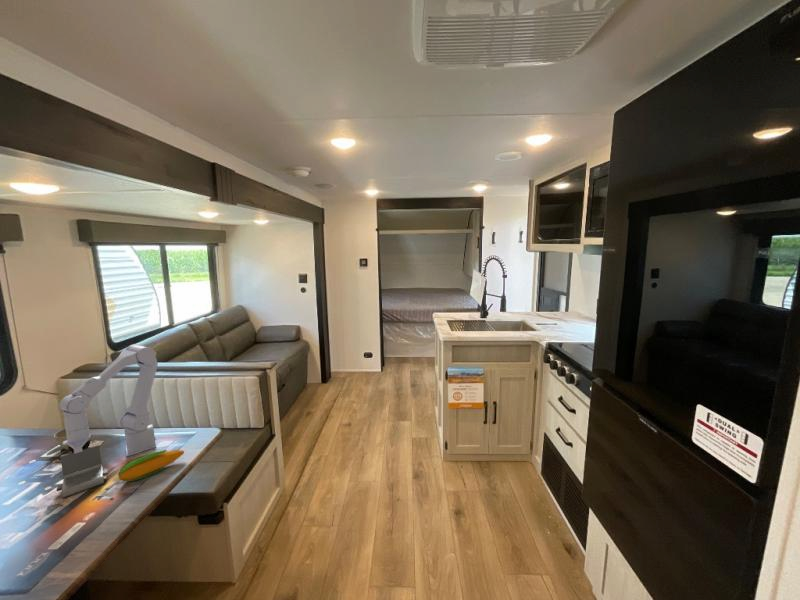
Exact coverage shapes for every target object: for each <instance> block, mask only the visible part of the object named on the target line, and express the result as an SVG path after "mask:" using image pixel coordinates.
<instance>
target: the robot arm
mask: <svg viewBox="0 0 800 600" xmlns="http://www.w3.org/2000/svg"><path fill="white" fill-rule="evenodd" d="M133 365H137V366H138V367H139V368H140V369H139V372H138V377H137V379H136V380H137V381H136V384H135V386H134V387H135V388H134V391H133V395H132V399H131V403H130V405H129V406H128V407H127V408H125V411H124V414H123V415H122V416H121V417H120V419H119V424H120V426H121V427H123V428H124V435H125V436H124V437H125V438H124V439H125V444H126V446H125V453H126V457H131V456H133V455H136V454H139V453H144V452H146V451H149V450H151V449H155V448H156V441H157V439H156V435H155V429H154V425H153V424H152V423H151V424H150V422H151V418H150V413H151V412H150V410H149V408H148V404H149V399H150V396H151V391H152V389H153V384H154V381H155V376H156V372H157V368H158V359H157V351H156V350H155V349H154V348H152V347H150V346H143V345H139V344H131V345H130V344H129V346H127V347H126V348H125V349H124V350H122V351H121V352H120V354H119V355H118V357H116V359H114V360H113V361H112V362H111V363H110V364H109V365H108V366H107V367H106V368H105V369H104V370H103V371H102V372H100V374H98V376H97V375H96V376H91V377H90V378H86V379H85V380H84V383H83V384H81V386H79V387H78V388H77V389H76V390H73V391H72V392H71V394H69V395H66V396H64V397H62V399H60V401H59V404H58V405H57V407H58V409H59V410H61V411H62V414H63V421H64V429H66V435H67V440H66V441H64V442H63V445H69V447H68V449H69V450H68V451H69V452H70V453H71V452H74V454H75V453H79V452H82V451H83V450H82V449H85V448H88V447H90V445H91V436H92V435H91V434H90V427H89V421H88V413H87V409H88V407H89V405H90V402H91V401H92V400H93V399H94V398H95V397H96V396H97V395H99V393H100V392H102V391H103V390H104V389H105V388H106V387H107V383H108V381H109V380H111V379H112V378H113V377H114V376H115V375H117V374H119V372H121V371H122V370H123V369H125V367H127V366H133Z"/></svg>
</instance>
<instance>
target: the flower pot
mask: <svg viewBox="0 0 800 600" xmlns="http://www.w3.org/2000/svg"><path fill="white" fill-rule="evenodd" d="M53 437H54V440H55V441H56V443H57V444H58V445H59V446H60V447H62V449H64V450H67V451H69V449H68V447H69V445H63V442H64V441H66V440H67V435H66V429H65V428H63V429H60V430H58V431H57V432H56V433H54V435H53Z"/></svg>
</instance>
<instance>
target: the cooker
mask: <svg viewBox="0 0 800 600" xmlns="http://www.w3.org/2000/svg"><path fill="white" fill-rule="evenodd" d="M108 474H109V471H108V468H104V469H103V465H100V467H97V468H94V469H91V470H88V471H85V472H82V473H79V474H76V475H73V476H70V477H67V478H66V477H64V478H63V480H62V483H59V484H57V485H56V492H60V491H61V495H62V499H63V500H64V499H66V498H67V499H68V497H72V496H75V495H77V494H80V493H83V492H87V491H88V490H92V489H94V488H97V487H99V486H103V485H105V482H104V480H105V479H104V476H106V475H108Z"/></svg>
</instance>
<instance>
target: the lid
mask: <svg viewBox="0 0 800 600" xmlns="http://www.w3.org/2000/svg"><path fill="white" fill-rule="evenodd" d="M82 450H83V451H82V452H79V453H75V454H74V452H71V451H70V452H68V453H66V454H61V455H59V457H60V463H61V469H62V474H63V476H64V478H67V477H70V476H73V475H76V474H79V473H82V472H85V471H88V470H91V469H94V468H97V467H100V466H101V465H102V464H103V459H102V454H101V453H102V452H101V446H100V444H99V443H98V444H95V445H93V446H92V445H91V446H89V447H88V448H85V449H82Z"/></svg>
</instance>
